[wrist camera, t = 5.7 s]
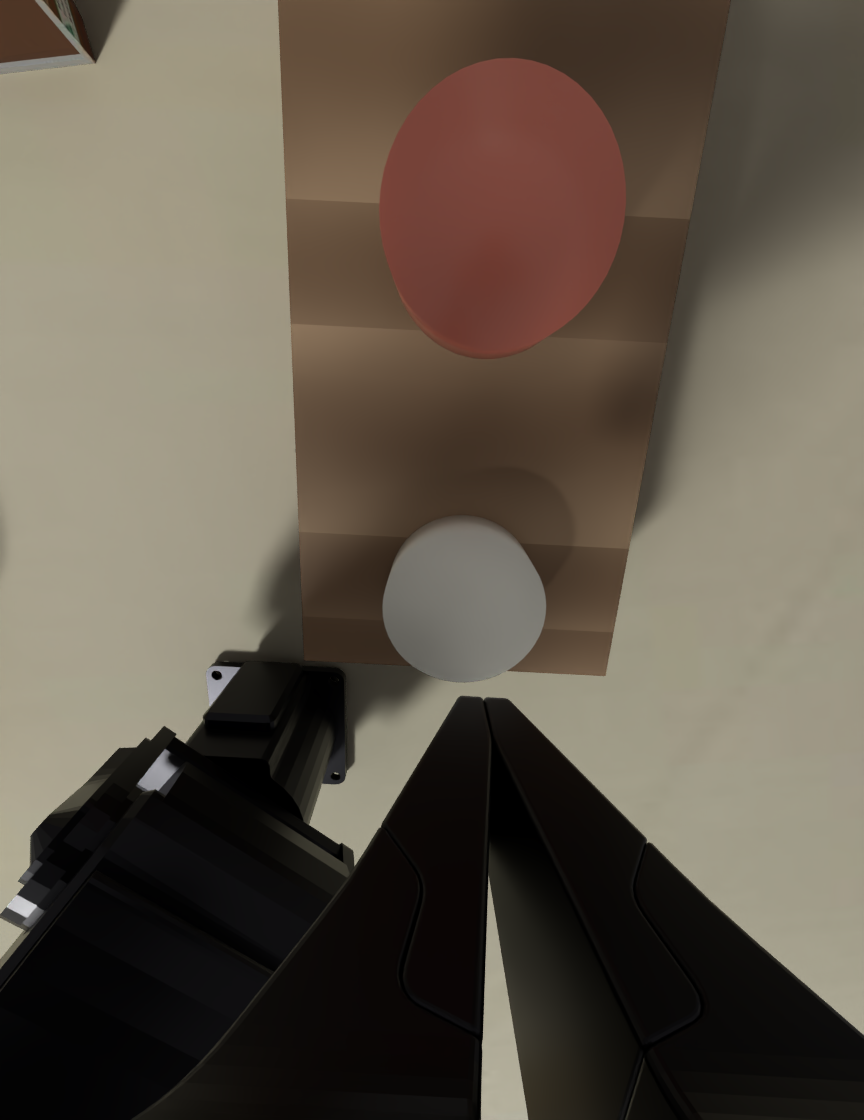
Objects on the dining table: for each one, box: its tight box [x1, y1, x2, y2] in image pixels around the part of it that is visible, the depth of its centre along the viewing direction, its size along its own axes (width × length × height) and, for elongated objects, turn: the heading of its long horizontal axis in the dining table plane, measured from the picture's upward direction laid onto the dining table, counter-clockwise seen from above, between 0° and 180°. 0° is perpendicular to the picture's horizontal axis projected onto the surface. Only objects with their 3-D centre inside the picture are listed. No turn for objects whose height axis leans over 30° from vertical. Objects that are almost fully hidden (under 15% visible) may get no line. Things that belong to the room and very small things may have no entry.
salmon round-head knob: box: [379, 58, 626, 359], centre depth 12 cm, size 4×4×8 cm
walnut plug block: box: [278, 0, 731, 676], centre depth 15 cm, size 23×10×6 cm, turn 177°
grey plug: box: [382, 515, 546, 682], centre depth 16 cm, size 4×4×8 cm
